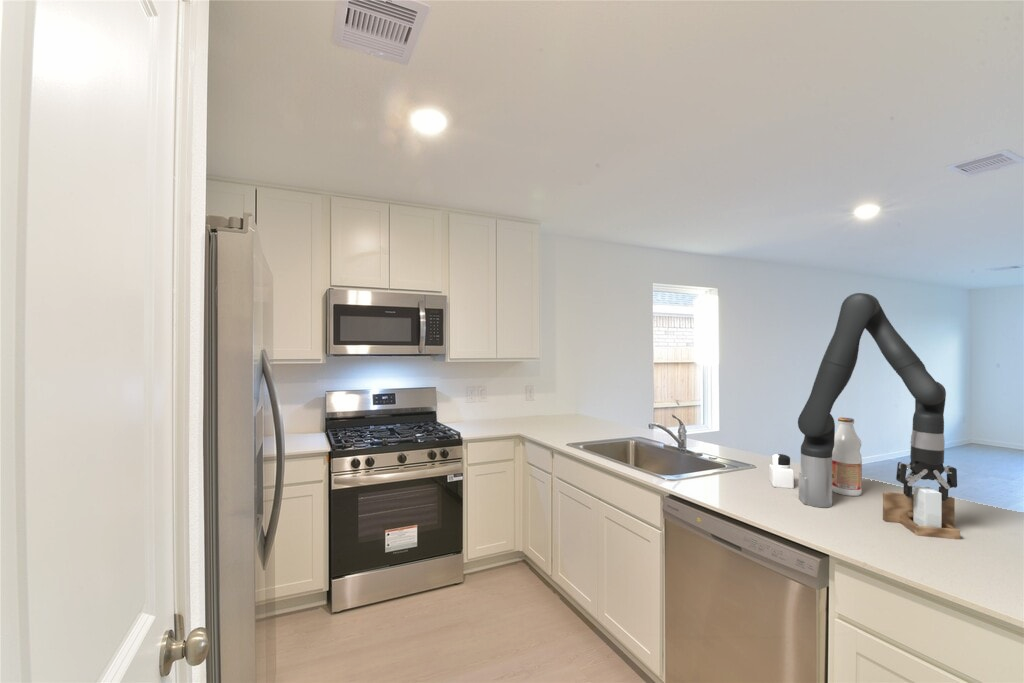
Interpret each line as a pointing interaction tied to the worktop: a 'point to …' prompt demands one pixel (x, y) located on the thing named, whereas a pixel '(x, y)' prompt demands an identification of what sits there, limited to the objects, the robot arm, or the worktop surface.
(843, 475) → the fruit juice
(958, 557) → the worktop surface
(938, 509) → the skincare box
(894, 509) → the wooden frame stand
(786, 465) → the medicine bottle
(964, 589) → the worktop surface
